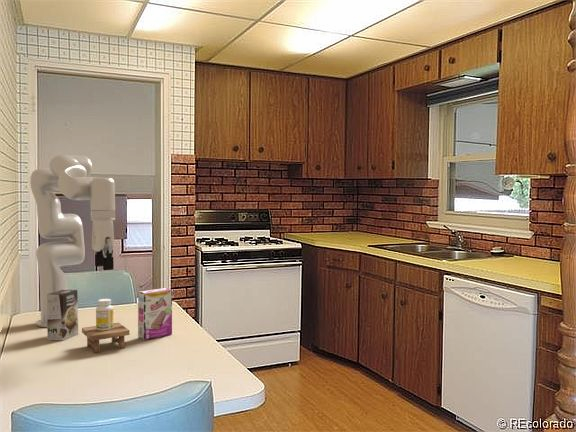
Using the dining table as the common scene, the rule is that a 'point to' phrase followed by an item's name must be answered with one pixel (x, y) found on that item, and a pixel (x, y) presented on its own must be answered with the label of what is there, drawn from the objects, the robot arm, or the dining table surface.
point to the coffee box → (62, 314)
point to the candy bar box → (154, 313)
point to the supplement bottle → (104, 315)
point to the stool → (105, 336)
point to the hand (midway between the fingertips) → (104, 267)
